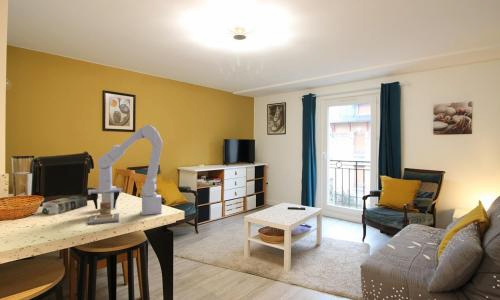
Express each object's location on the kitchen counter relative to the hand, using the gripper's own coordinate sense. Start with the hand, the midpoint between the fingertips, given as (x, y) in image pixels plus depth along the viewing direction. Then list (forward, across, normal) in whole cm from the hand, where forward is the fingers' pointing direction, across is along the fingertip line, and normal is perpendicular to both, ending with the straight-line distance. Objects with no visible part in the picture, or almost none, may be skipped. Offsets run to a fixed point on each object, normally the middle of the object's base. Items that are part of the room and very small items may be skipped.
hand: (105, 208), depth 139 cm
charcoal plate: (+3, 0, +10) cm, 10 cm away
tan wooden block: (+3, 0, 0) cm, 3 cm away
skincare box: (+3, -1, -12) cm, 13 cm away
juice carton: (+4, +20, -19) cm, 27 cm away
